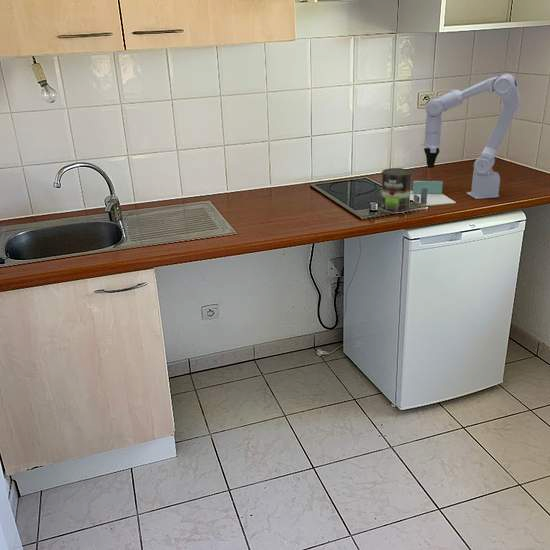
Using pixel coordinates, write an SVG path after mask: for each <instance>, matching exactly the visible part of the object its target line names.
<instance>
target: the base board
mask: <svg viewBox="0 0 550 550" xmlns="http://www.w3.org/2000/svg"><path fill="white" fill-rule="evenodd" d="M412 191H413V190H411V191H410V200H413V201H414V195H417V196H419V197H420V200H419V202H418V203H421V193H412ZM452 204H457V202H456V201H455V200H453V199H451V198H449V197H448V196H447V195H445V194H444V193H442V194H433V193H427V203H426V204H425V205H426V206H425V207H428V206H429V207H432V206H440V205H441V206H442V205H452Z"/></svg>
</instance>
